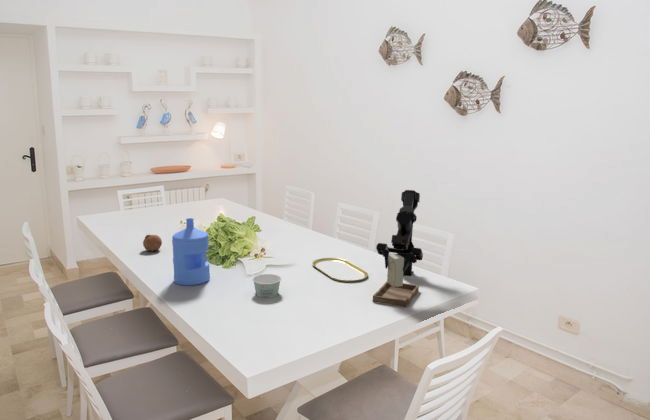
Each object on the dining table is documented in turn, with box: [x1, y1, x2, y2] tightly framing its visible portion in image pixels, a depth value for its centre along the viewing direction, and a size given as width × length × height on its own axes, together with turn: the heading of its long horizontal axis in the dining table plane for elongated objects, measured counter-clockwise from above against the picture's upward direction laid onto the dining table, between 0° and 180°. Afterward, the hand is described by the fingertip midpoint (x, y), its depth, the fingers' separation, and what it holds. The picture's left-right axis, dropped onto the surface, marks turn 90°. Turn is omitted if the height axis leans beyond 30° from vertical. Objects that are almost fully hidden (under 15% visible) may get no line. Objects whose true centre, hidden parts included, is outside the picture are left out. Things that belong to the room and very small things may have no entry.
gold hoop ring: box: [312, 257, 369, 283], centre depth 242 cm, size 19×35×2 cm, turn 27°
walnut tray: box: [372, 281, 420, 309], centre depth 211 cm, size 20×14×2 cm
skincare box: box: [386, 253, 404, 287], centre depth 206 cm, size 6×4×12 cm
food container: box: [252, 273, 282, 298], centre depth 211 cm, size 12×12×6 cm
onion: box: [142, 234, 163, 252], centre depth 268 cm, size 10×9×10 cm
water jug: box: [171, 217, 211, 286], centre depth 223 cm, size 16×16×28 cm
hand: (394, 269), depth 205 cm, fingers closed on skincare box, 7 cm apart
